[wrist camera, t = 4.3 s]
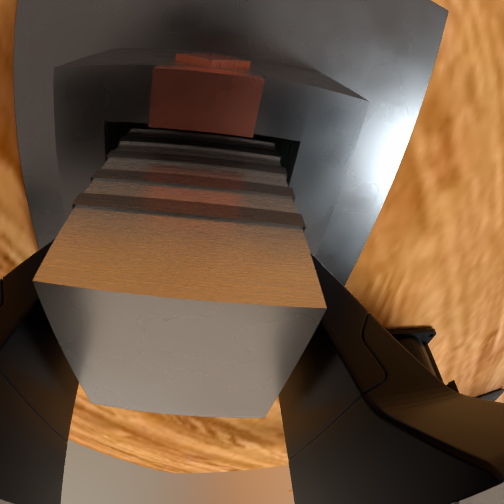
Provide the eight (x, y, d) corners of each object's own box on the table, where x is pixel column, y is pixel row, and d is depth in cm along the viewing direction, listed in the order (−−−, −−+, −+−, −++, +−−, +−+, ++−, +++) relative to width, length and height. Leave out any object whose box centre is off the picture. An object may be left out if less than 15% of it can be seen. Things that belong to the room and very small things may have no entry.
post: (261, 108, 12) (331, 306, 4) (244, 197, 14) (265, 418, 7) (156, 97, 11) (28, 277, 4) (151, 188, 13) (90, 403, 6)
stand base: (436, 9, 9) (543, 29, 4) (330, 293, 21) (356, 382, 16) (36, -42, 6) (-64, -48, 1) (53, 268, 18) (17, 354, 13)
